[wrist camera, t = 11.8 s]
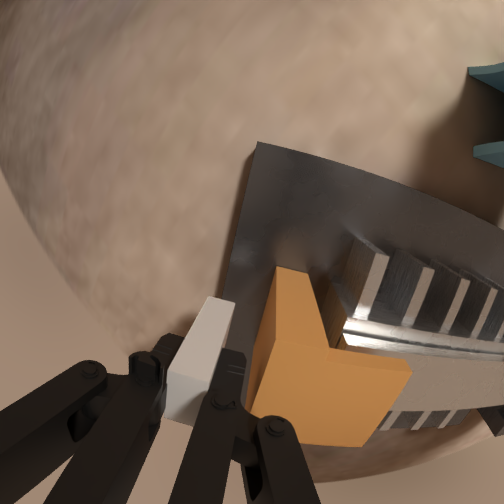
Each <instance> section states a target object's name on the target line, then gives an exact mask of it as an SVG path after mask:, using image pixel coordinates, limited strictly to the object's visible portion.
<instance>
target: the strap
mask: <svg viewBox="0 0 504 504" xmlns="http://www.w3.org/2000/svg"><path fill="white" fill-rule="evenodd" d="M337 349H340V350H345V351H351V352H358V353H364V354H370V355H377V356H384V357H392V358H399V359H405V360H406V362H407V364H408V365H409V367H410V369H411V370H412V372H413V373H412V375H411V376H410V378H409V380H408V381H407V383H406V385H405V386H404V388H403V390H402V391H401V393H400V394H399V396H398V397H397V399H396V401H395V402H394V404H393V405H392V407H391V408H390V409H389V411H442V410H460V409H472V408H481V407H490V406H497V405H504V355H497V354H485V353H475V352H465V351H456V350H447V349H439V348H431V347H424V346H417V345H410V344H403V343H396V342H390V341H384V340H378V339H372V338H366V337H361V336H355V335H350V334H344V333H343V335H342V337H341V340H340V342H339V344H338V347H337Z"/></svg>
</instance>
